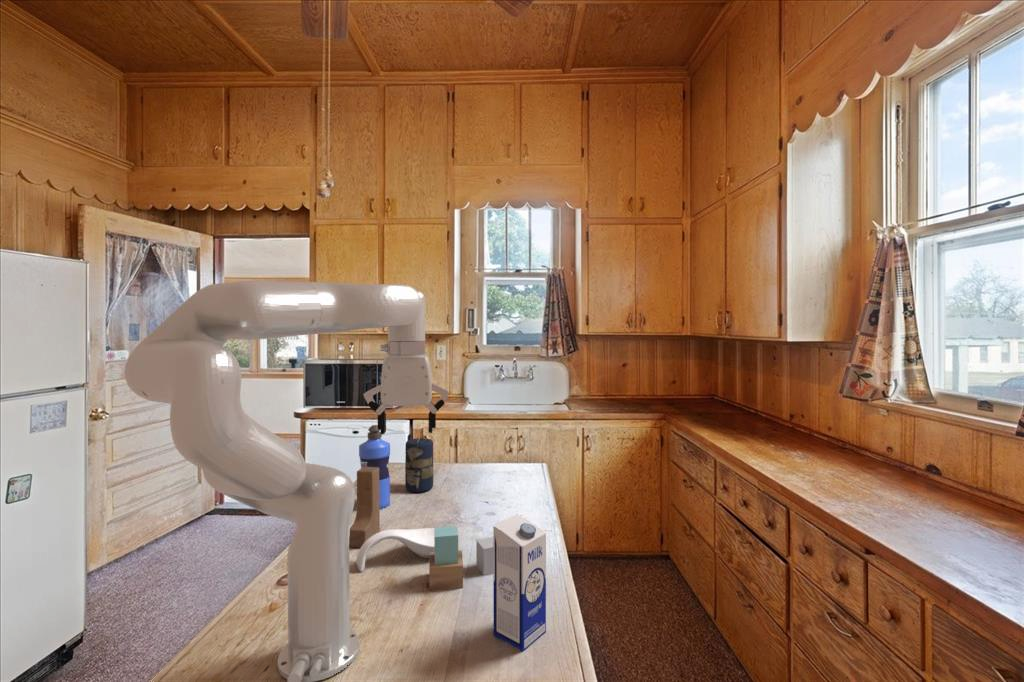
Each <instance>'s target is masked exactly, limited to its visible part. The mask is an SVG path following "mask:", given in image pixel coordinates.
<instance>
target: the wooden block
mask: <svg viewBox="0 0 1024 682" xmlns="http://www.w3.org/2000/svg"><path fill="white" fill-rule="evenodd" d="M355 515H356V517H355V518H354V522H353V524H352V525H351V526H350V535H349V548H358V549H360V548H361V546H362V545H363V544H364V542H365V541H366V540H367V539H369V538H370V537H371V536H373V535H375V534H376V533H379V532H381V531H380V526H381V525H380V510H379V467H363V468H361V467H360V469H358V470H357V471H356V513H355Z"/></svg>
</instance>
